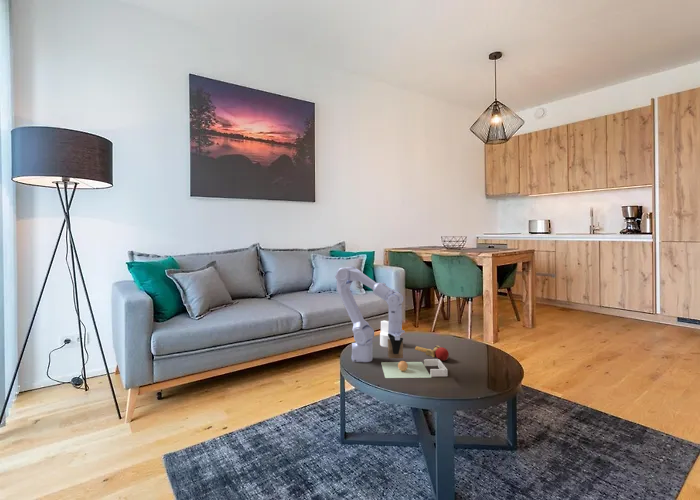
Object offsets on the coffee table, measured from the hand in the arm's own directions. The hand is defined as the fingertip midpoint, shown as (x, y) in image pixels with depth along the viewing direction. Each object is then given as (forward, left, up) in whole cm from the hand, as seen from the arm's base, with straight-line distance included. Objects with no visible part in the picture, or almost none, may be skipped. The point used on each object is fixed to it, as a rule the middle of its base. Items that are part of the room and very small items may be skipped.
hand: (395, 352), depth 145 cm
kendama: (+19, +13, -7) cm, 24 cm away
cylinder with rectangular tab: (+1, +32, -7) cm, 33 cm away
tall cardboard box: (0, 0, -2) cm, 2 cm away
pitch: (+6, -6, -7) cm, 11 cm away
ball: (+2, -8, -3) cm, 8 cm away
